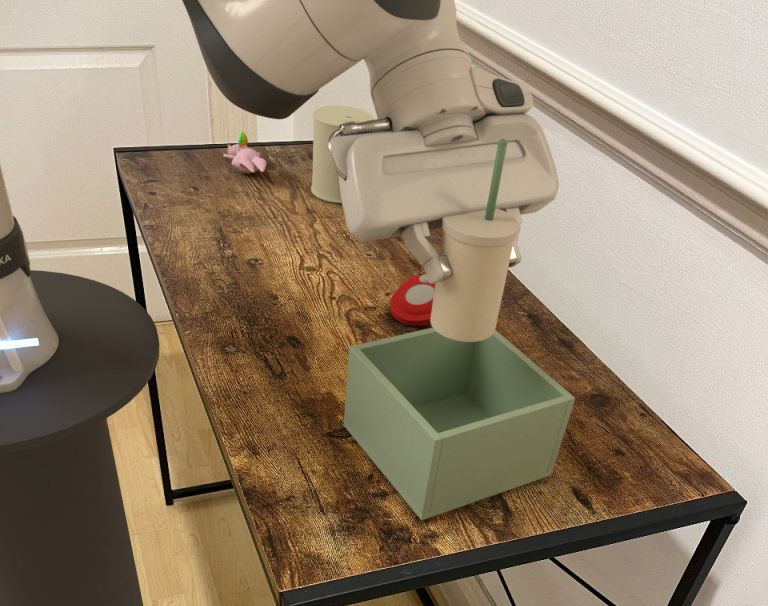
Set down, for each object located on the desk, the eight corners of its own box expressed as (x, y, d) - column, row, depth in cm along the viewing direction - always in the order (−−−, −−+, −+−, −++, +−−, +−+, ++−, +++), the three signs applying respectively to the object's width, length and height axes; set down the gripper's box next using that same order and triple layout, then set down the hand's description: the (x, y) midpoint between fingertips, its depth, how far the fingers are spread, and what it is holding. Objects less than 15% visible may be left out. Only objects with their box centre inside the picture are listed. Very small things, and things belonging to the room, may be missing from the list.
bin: (421, 520, 72) (435, 440, 66) (343, 425, 82) (348, 346, 75) (551, 475, 79) (575, 398, 72) (465, 391, 88) (480, 316, 81)
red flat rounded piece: (381, 317, 96) (395, 263, 101) (388, 343, 99) (401, 290, 105) (479, 315, 93) (489, 260, 98) (483, 342, 96) (491, 288, 102)
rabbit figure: (218, 164, 132) (239, 184, 121) (215, 125, 129) (236, 142, 117) (254, 162, 134) (278, 182, 123) (252, 124, 131) (276, 141, 119)
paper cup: (453, 349, 68) (485, 159, 57) (415, 314, 72) (438, 129, 61) (511, 334, 71) (553, 150, 59) (471, 301, 74) (503, 122, 63)
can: (325, 206, 121) (328, 124, 112) (301, 183, 126) (303, 103, 118) (378, 200, 124) (384, 120, 116) (352, 178, 130) (357, 100, 121)
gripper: (335, 104, 59) (388, 281, 60) (545, 85, 67) (588, 241, 68) (308, 144, 65) (357, 306, 66) (504, 123, 73) (545, 266, 74)
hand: (477, 273), depth 67 cm, fingers closed on paper cup, 6 cm apart
